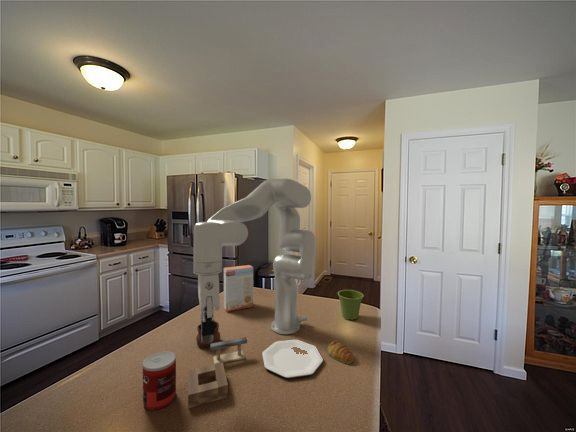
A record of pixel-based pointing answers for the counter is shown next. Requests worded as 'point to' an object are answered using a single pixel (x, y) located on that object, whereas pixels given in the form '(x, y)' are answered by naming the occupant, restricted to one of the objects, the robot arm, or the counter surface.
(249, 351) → the counter surface
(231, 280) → the cracker box
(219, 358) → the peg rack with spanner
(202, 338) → the pin
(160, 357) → the canned food
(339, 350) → the pastry
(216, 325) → the ceramic pot
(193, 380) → the block with square hole
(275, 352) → the plate
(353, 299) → the plant pot
